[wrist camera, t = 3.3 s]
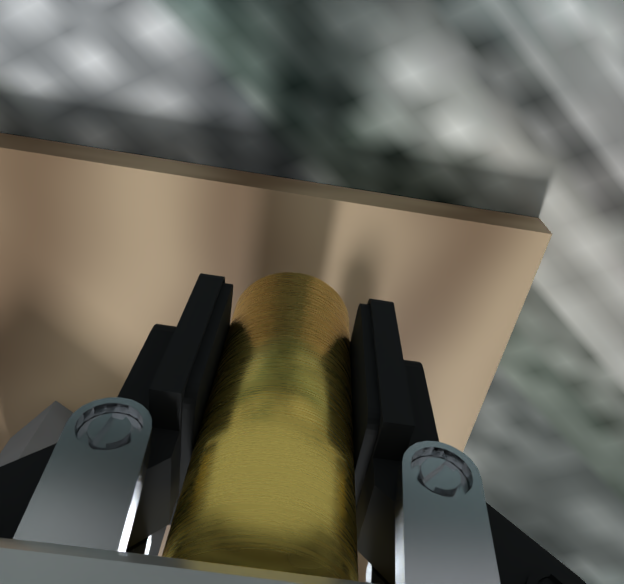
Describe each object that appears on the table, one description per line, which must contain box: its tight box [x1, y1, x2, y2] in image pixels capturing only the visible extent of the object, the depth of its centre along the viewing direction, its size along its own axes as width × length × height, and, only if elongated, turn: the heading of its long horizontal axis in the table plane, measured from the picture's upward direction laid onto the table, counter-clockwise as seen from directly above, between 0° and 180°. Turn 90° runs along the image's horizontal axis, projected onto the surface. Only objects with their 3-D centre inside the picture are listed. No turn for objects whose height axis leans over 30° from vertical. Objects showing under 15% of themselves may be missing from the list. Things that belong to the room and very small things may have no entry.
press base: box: [0, 133, 552, 582], centre depth 19 cm, size 20×20×6 cm
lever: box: [162, 272, 358, 581], centre depth 14 cm, size 16×4×9 cm, turn 171°
